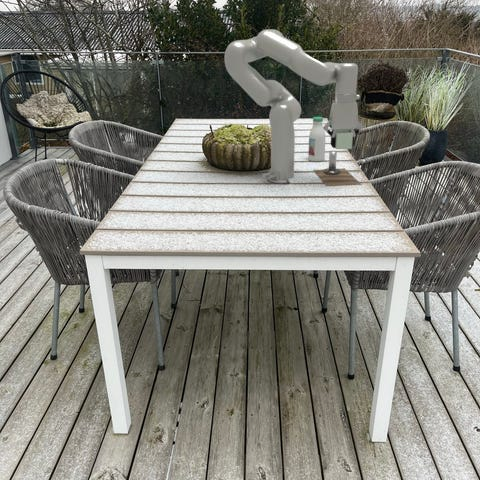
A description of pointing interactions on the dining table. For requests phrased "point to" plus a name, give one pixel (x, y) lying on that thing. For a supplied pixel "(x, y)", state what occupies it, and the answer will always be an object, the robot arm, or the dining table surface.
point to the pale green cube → (343, 139)
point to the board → (335, 174)
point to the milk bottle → (317, 141)
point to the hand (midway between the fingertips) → (342, 146)
